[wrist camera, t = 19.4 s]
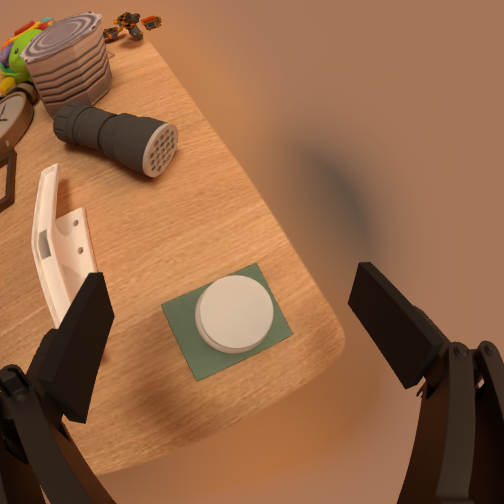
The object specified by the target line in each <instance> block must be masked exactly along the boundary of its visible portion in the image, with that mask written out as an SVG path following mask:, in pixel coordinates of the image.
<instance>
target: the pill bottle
mask: <svg viewBox="0 0 504 504" xmlns="http://www.w3.org/2000/svg"><path fill="white" fill-rule="evenodd" d="M272 321H273V304H272V301H271V298H270V296H269V294H268V292H267V291H266V290H265V288H264V287H263V286H262V285H261V284H259V283H258V282H257V281H255V280H253V279H251V278H249V277H245V276H240V275H231V276H226V277H223V278H220V279H218V280H217V281H215V282H214V283H212V284H211V285H210V286H209V287H208V288H206V290H205V291H204V292H203V293H202V294H201V296H200V297H199V299H198V302H197V304H196V308H195V323H196V327H197V330H198V332H199V334H200V336H201V337H202V338H203V340H204V341H205V342H206V343H207V344H209V345H210V346H211V347H213V348H214V349H216V350H218V351H221V352H224V353H230V354H233V353H242V352H246V351H249V350H251V349H253V348H254V347H256V346H257V345H258V344H260V343H261V342H262V340H263V339H264V338H265V336H266V335H267V333H268V331H269V329H270V327H271V324H272Z"/></svg>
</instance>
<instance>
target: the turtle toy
mask: <svg viewBox="0 0 504 504" xmlns="http://www.w3.org/2000/svg"><path fill="white" fill-rule="evenodd" d="M54 23H56V22H55V21H54V20H53V18H50V17H45V18H43V19H42V20H41V21H40V22H36V23H34V21H31V22H29V23H27V24H25V25H23V26H22V27H20V28H19V29H18V30H16V31H15V35H14V36H13V38H12V39H9V40H7V41H6V42H5V43H4V45H3V47H2V49H1V54H0V66H1V80H2V81H1V83H0V92H1V93H2V95H6V94H7V93H8V92H9V91H10V90H11V89H12V88H14V87H15V86H17V85H19V84H22V83H23V82H25V81H28V80H29V81H30V82H33V80H32V78H31V76H30V73H29V71H28V69H27V66H26V64H25V61H24V59H23V58H21V57H20V56H19V55H20V54H21V52H22V51H23V50H24V48H25V47H26V46H27V45H28V43H29V42H30V41H31V40H32V38H33V37H35V36H36V35H37V34H39V33H40V32H42V31H43V30H45V29H46V28H48V27H50V26H51V25H53V24H54ZM14 93H15V92H14Z"/></svg>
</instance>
